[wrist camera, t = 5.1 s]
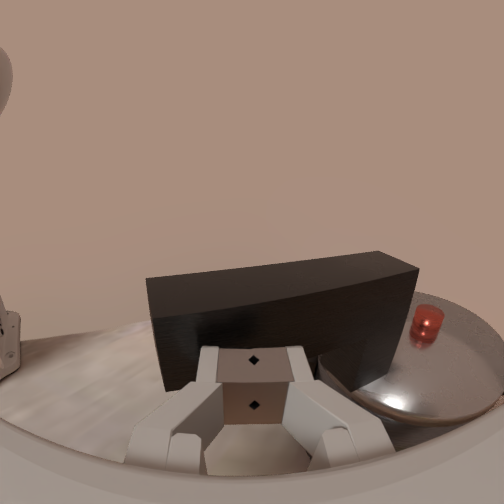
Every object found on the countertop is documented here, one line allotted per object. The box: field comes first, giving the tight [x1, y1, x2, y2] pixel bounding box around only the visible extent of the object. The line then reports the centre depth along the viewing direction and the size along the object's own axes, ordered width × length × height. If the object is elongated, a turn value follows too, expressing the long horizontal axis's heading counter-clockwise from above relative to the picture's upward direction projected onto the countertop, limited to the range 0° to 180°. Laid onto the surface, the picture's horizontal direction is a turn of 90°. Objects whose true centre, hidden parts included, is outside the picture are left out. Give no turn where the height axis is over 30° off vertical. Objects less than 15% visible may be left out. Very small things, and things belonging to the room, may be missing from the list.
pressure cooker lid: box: [146, 251, 504, 427], centre depth 15 cm, size 26×17×8 cm, turn 113°
